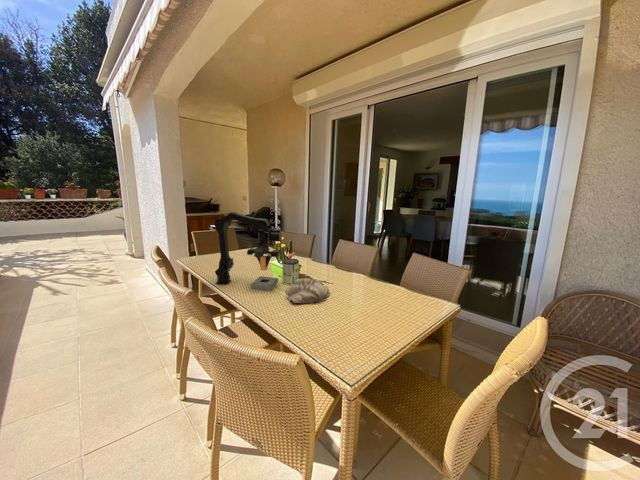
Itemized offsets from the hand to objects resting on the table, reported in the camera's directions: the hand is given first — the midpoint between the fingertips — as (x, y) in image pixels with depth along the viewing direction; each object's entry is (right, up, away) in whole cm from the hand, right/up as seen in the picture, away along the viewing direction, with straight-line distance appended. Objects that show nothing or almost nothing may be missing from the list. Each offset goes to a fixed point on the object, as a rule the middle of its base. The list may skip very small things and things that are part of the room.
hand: (264, 266), depth 151 cm
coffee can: (+14, -11, +11) cm, 21 cm away
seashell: (+28, -16, -9) cm, 33 cm away
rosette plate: (0, -12, +3) cm, 12 cm away
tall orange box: (0, -2, 0) cm, 2 cm away
